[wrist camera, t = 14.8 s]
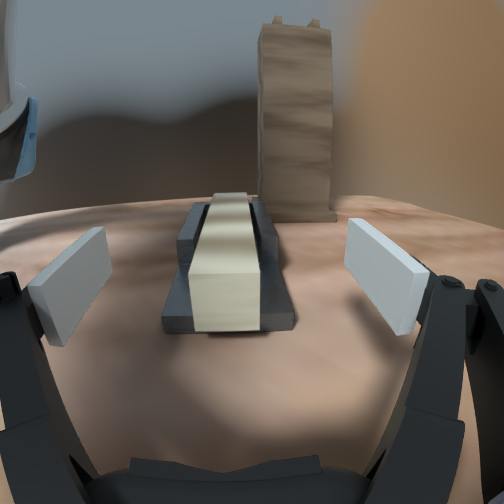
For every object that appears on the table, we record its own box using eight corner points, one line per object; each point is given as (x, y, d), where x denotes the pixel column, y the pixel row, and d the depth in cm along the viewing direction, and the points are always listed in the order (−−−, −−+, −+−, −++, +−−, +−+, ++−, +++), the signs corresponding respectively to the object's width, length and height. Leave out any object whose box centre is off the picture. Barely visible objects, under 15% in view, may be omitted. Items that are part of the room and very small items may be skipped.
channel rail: (196, 231, 40) (194, 202, 39) (262, 229, 41) (263, 200, 39) (164, 333, 20) (155, 283, 18) (292, 329, 20) (296, 279, 19)
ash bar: (215, 223, 38) (214, 193, 37) (246, 223, 38) (246, 192, 37) (195, 331, 18) (188, 274, 16) (259, 330, 18) (260, 272, 17)
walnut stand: (252, 203, 54) (251, 36, 42) (315, 203, 55) (317, 40, 43) (257, 222, 43) (256, 12, 31) (336, 221, 44) (338, 20, 32)
